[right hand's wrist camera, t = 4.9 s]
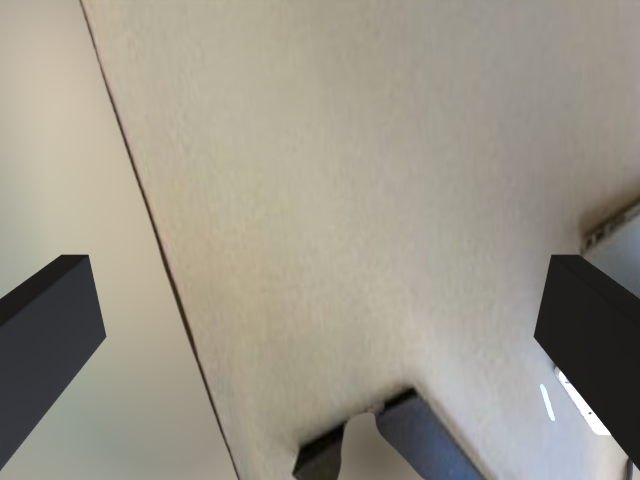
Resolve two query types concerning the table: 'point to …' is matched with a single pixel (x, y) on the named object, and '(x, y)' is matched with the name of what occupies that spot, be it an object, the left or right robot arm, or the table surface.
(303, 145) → the table surface
